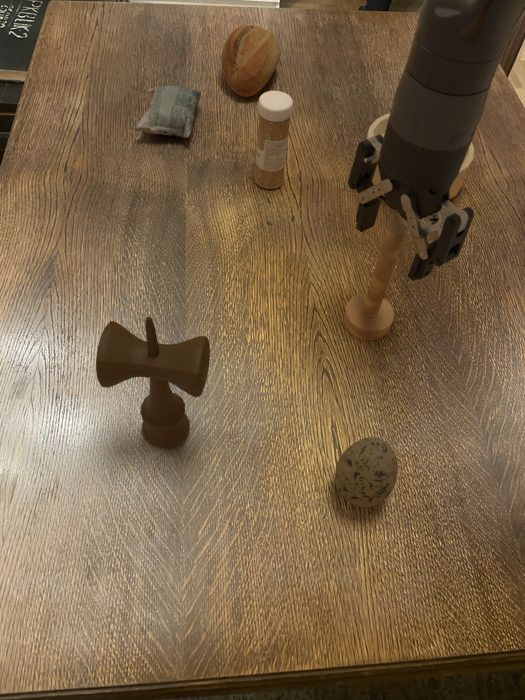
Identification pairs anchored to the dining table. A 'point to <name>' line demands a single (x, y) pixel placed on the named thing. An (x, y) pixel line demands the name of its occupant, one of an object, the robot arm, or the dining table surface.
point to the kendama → (155, 377)
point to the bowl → (380, 129)
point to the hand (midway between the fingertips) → (389, 251)
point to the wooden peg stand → (376, 292)
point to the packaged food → (170, 111)
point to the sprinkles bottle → (272, 138)
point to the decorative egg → (367, 472)
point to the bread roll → (249, 59)
